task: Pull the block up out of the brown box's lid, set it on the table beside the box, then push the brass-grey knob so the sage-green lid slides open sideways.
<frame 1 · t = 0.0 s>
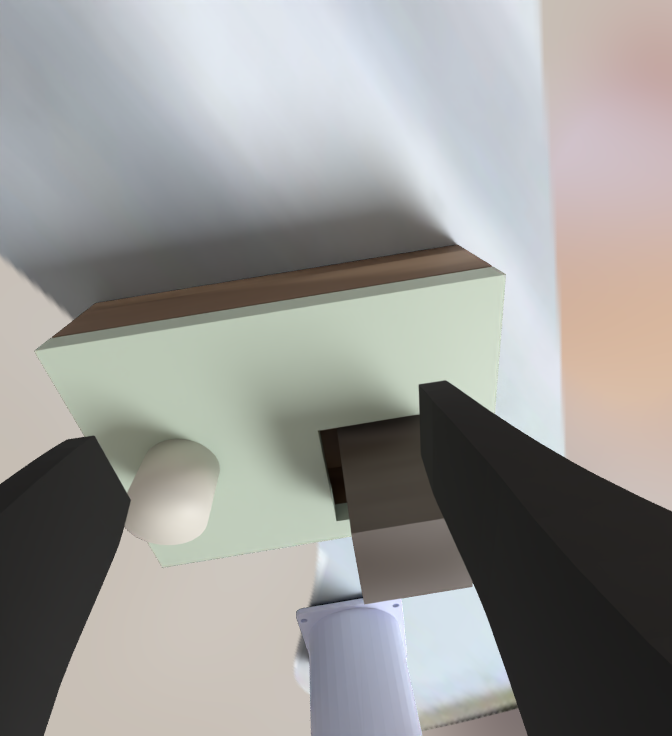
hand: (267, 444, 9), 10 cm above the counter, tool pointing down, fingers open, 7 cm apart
block: (375, 419, 20), point 1 cm above the counter, touching brown box
brown box: (301, 388, 20), on the counter
lid: (302, 460, 16), point 5 cm above the counter, slide at 0.0 cm
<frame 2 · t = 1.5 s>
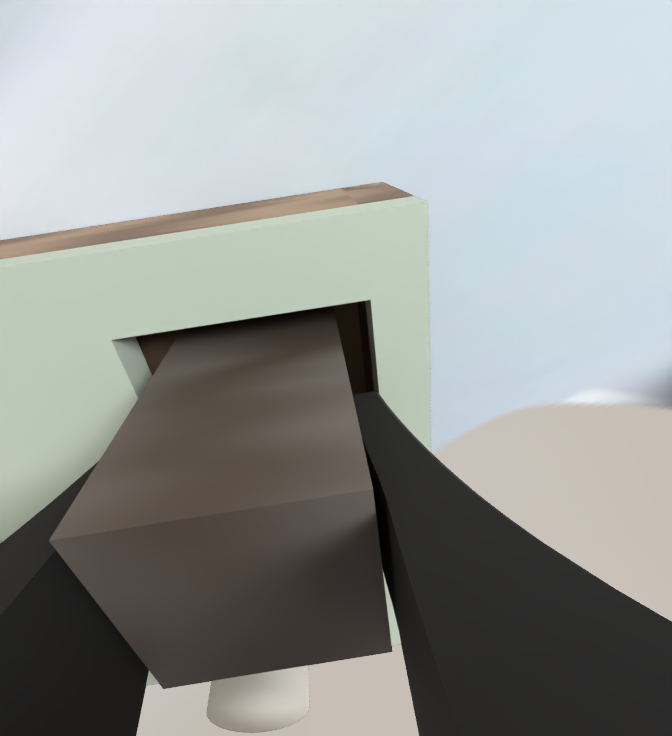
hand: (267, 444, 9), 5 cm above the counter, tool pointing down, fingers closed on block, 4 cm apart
block: (276, 355, 13), point 1 cm above the counter, touching gripper, brown box
brown box: (245, 429, 15), on the counter
lid: (222, 552, 11), point 5 cm above the counter, slide at 0.0 cm
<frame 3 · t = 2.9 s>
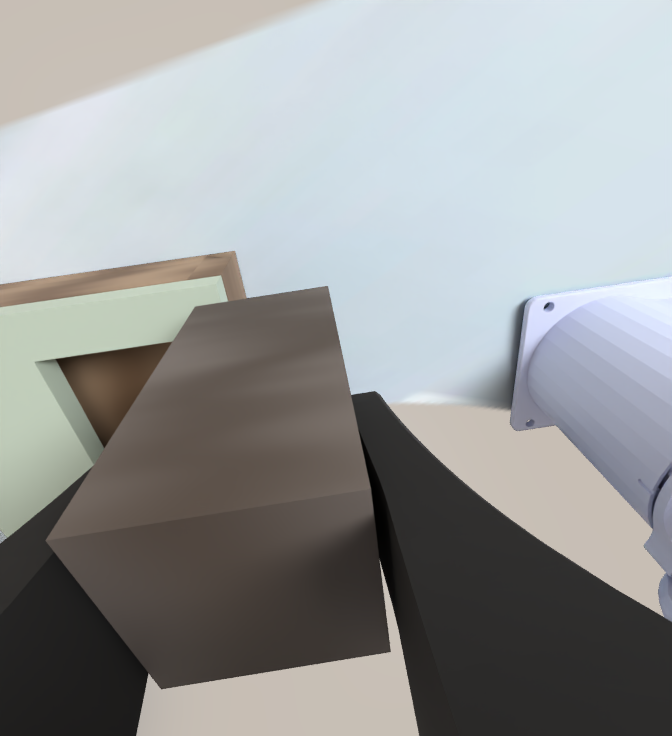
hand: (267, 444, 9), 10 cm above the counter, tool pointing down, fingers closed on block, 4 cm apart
block: (275, 354, 13), point 6 cm above the counter, touching gripper
brown box: (158, 421, 21), on the counter
lid: (119, 501, 16), point 5 cm above the counter, slide at 0.0 cm
when the fingers open (6 cm above the counter, at t = 4.3 s): block drops 2 cm, on the counter.
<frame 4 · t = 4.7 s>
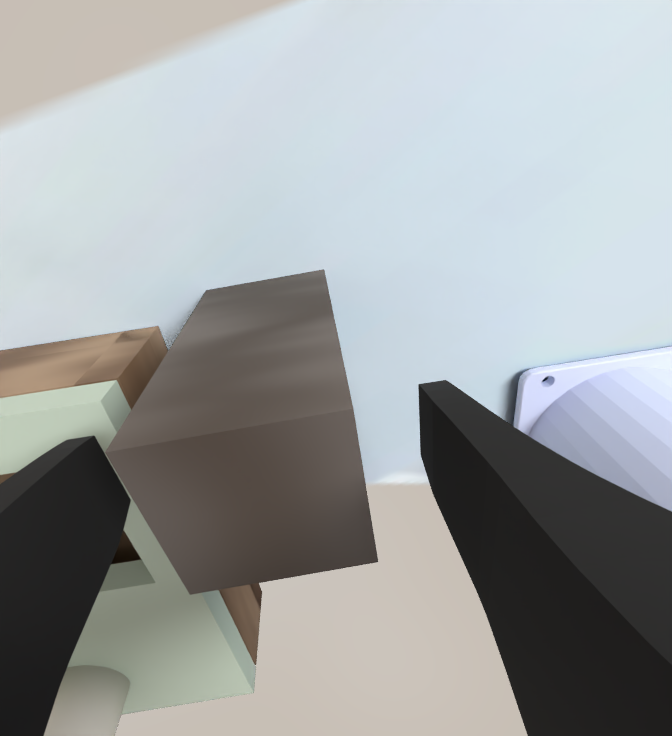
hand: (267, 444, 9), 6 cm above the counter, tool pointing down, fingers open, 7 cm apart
block: (278, 333, 14), on the counter
brown box: (88, 510, 18), on the counter
lid: (13, 641, 13), point 5 cm above the counter, slide at 0.0 cm
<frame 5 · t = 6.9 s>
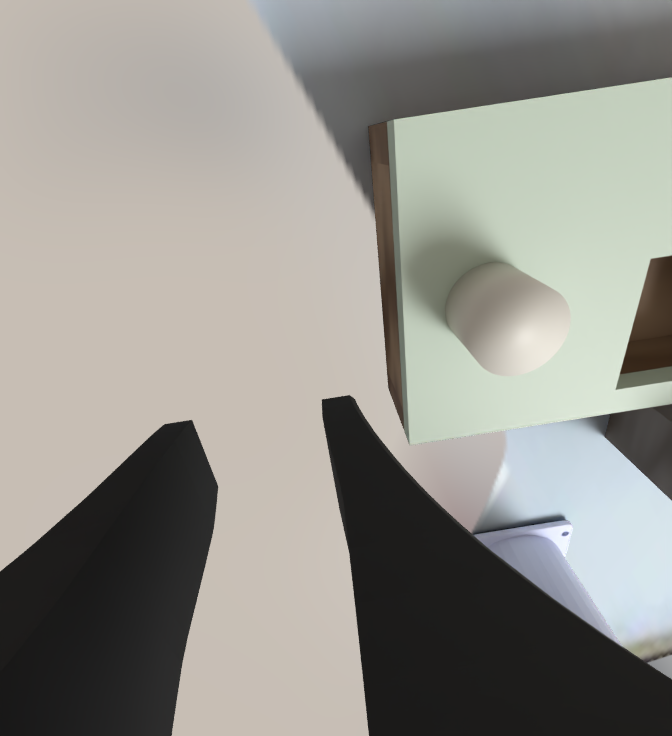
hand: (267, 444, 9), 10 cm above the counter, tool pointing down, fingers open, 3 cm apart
block: (644, 404, 23), on the counter
brown box: (552, 252, 18), on the counter
lid: (640, 289, 13), point 5 cm above the counter, slide at 0.0 cm
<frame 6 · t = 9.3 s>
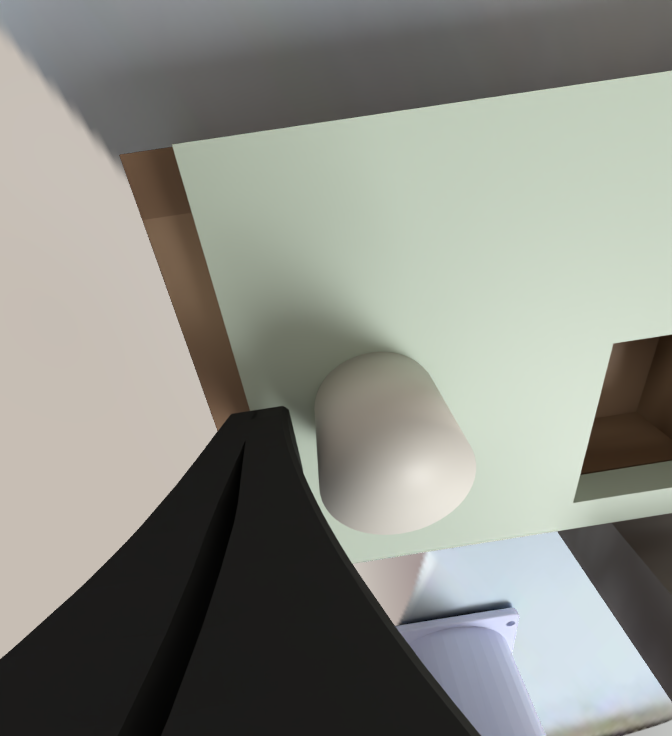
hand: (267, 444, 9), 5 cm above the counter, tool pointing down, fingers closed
block: (596, 485, 19), on the counter
brown box: (457, 313, 14), on the counter
lid: (596, 391, 9), point 5 cm above the counter, slide at 1.3 cm, touching gripper
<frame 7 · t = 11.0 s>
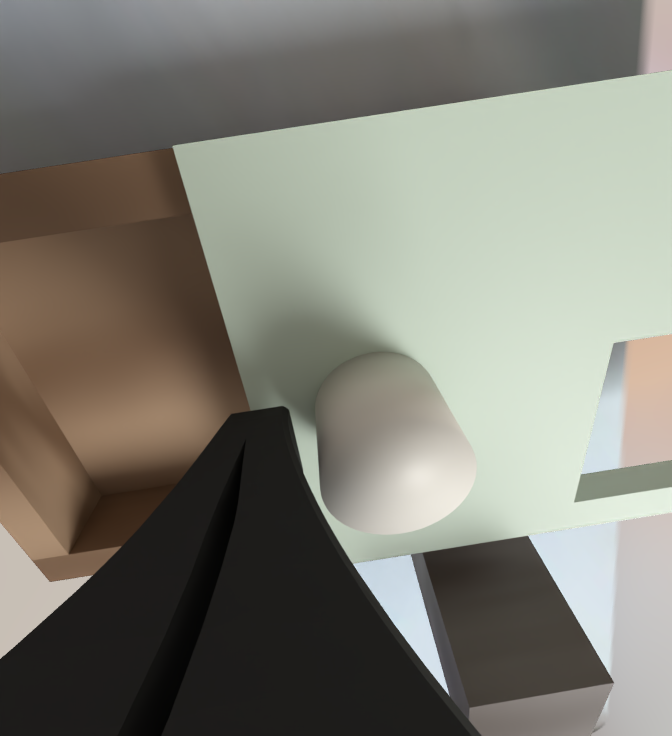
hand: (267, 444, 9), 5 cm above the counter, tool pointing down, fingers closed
block: (446, 509, 19), on the counter
brown box: (250, 345, 14), on the counter
lid: (597, 391, 9), point 5 cm above the counter, slide at 8.6 cm, touching gripper
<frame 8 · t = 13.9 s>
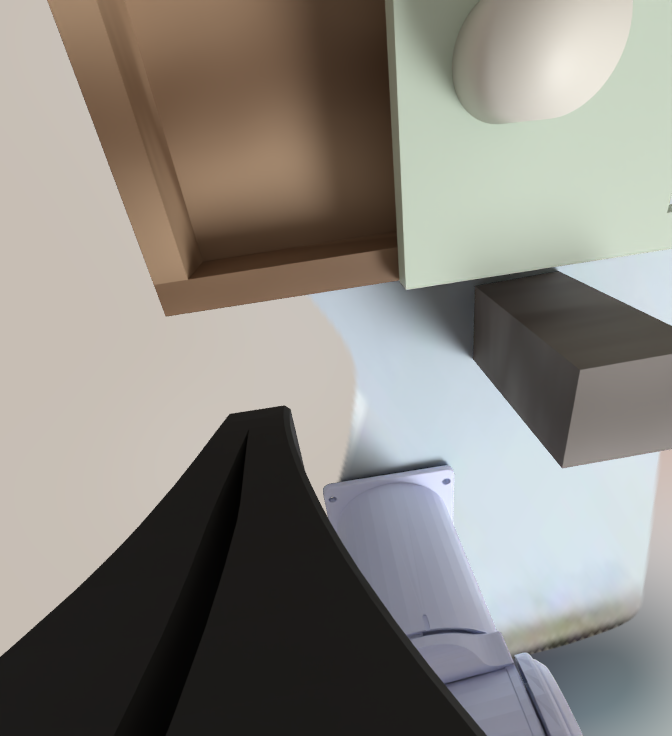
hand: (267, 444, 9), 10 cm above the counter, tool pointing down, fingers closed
block: (513, 317, 20), on the counter
brown box: (352, 97, 14), on the counter
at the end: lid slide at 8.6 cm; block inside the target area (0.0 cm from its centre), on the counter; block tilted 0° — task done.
